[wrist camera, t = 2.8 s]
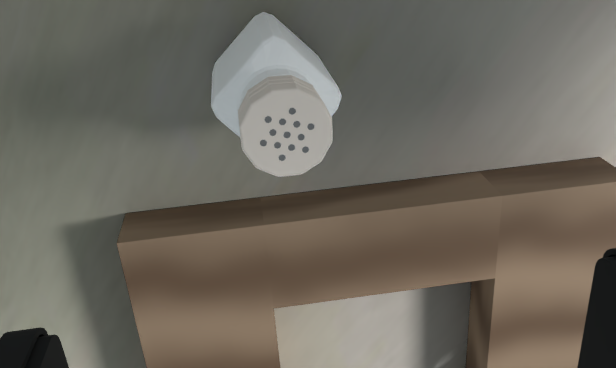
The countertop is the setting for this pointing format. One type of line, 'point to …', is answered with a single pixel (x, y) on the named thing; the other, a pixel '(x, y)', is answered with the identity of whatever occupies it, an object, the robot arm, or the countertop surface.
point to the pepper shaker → (275, 98)
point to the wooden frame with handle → (376, 261)
